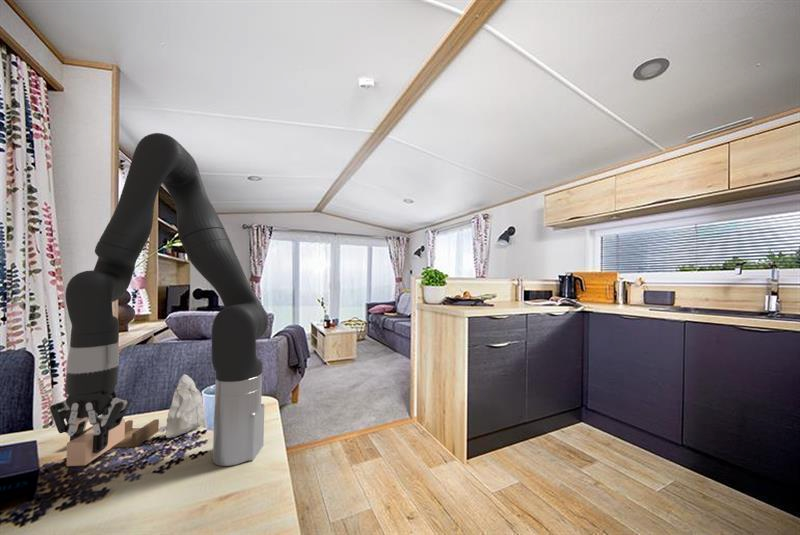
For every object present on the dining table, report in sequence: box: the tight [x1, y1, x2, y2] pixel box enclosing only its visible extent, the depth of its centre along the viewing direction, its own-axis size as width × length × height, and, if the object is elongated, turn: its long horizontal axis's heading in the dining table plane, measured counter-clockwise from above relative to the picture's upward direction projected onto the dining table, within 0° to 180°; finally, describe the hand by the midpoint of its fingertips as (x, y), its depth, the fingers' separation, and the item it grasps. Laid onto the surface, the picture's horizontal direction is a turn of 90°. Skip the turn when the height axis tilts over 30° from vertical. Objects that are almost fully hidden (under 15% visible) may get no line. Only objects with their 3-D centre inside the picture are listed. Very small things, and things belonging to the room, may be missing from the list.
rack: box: [84, 419, 160, 449], centre depth 71 cm, size 14×7×3 cm, turn 95°
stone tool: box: [165, 373, 205, 439], centre depth 74 cm, size 8×3×15 cm, turn 151°
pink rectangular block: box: [66, 418, 126, 467], centre depth 62 cm, size 3×9×4 cm, turn 5°
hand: (88, 451), depth 60 cm, fingers closed on pink rectangular block, 3 cm apart
